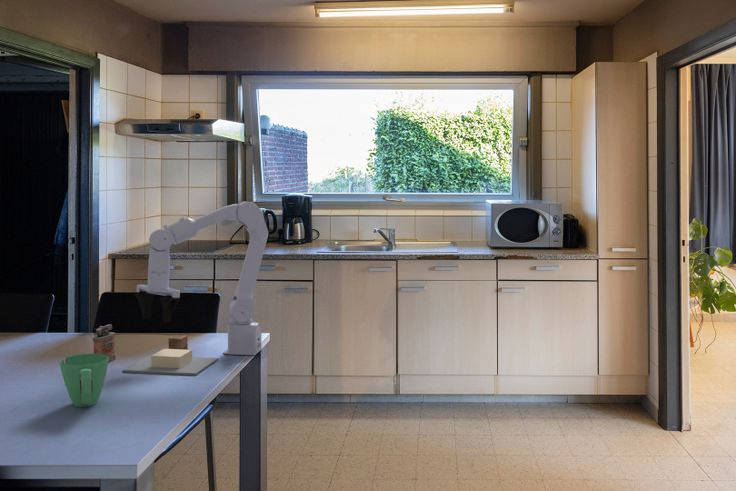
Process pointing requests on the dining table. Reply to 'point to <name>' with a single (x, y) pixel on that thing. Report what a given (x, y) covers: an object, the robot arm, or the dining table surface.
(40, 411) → the dining table surface
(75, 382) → the mug
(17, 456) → the dining table surface
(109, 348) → the lighter
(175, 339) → the walnut block
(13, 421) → the dining table surface
